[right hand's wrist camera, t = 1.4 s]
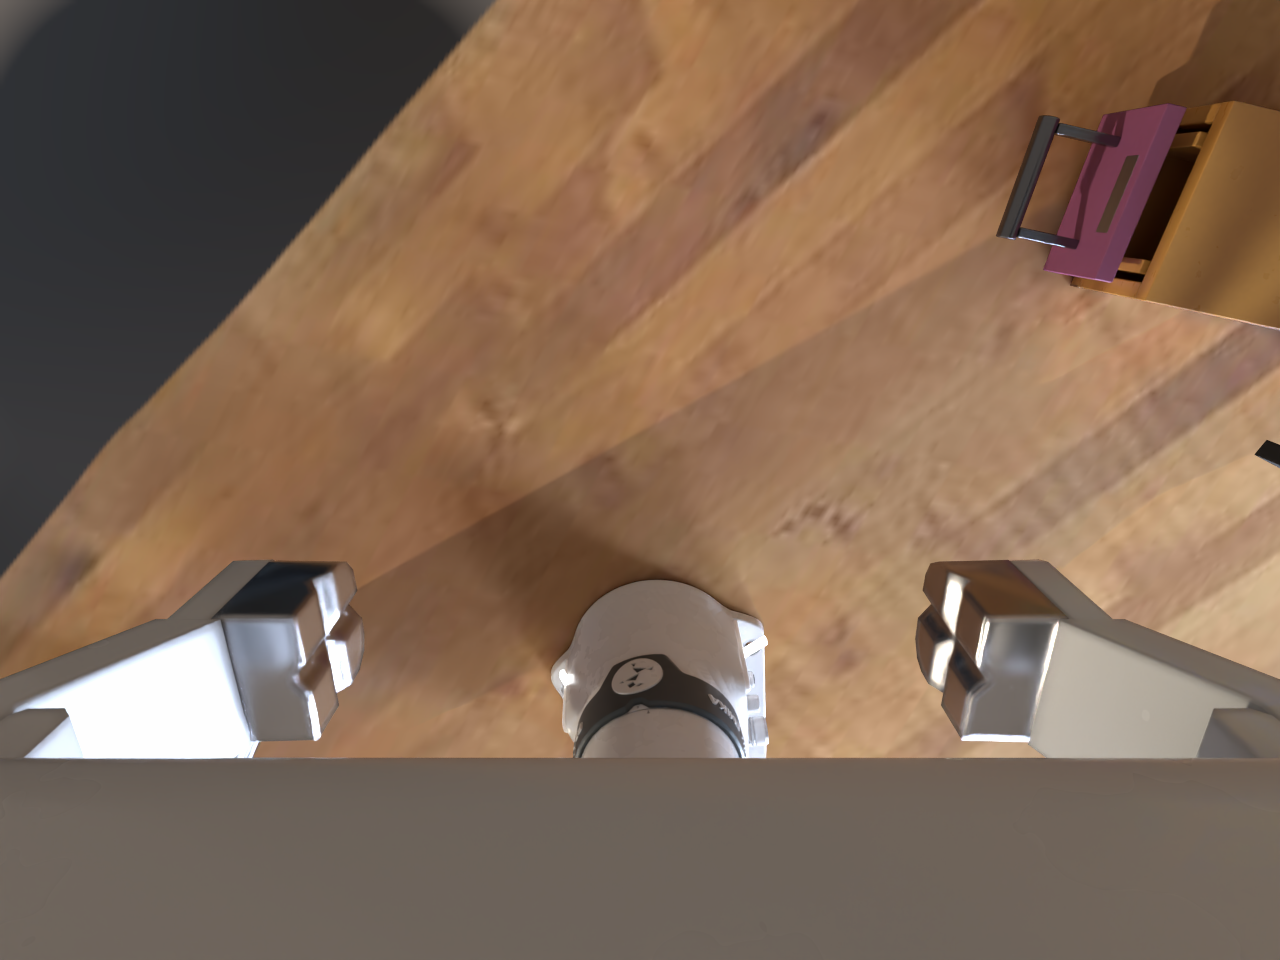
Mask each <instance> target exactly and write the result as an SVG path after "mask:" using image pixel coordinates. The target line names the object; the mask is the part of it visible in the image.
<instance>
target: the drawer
mask: <svg viewBox="0 0 1280 960" xmlns="http://www.w3.org/2000/svg"><path fill="white" fill-rule="evenodd" d="M1186 109H1187V108H1186V107H1183V106H1179V105H1174V104H1170V103H1166V104H1161V105H1155V106H1150V107H1144V108H1139V109H1133V110H1127V111H1122V112H1116V113H1111V114H1105V115H1103V117H1102V120H1101V122H1100V125H1099V127H1098V130H1097V131H1093V130H1089V129H1084V128H1080V127H1076V126H1071V125H1067V124H1063V123H1059V121H1060V119H1059V118H1058V117H1054V116H1047V115H1042V116H1039V118H1038V120H1037V123H1036V126H1035V129H1034V131H1033V134H1032V137H1031V140H1030V142H1029V145H1028V148H1027V151H1026V154H1025V156H1024V159H1023V162H1022V165H1021V167H1020V170H1019V173H1018V176H1017V179H1016V181H1015V184H1014V187H1013V190H1012V192H1011V195H1010V198H1009V201H1008V203H1007V206H1006V209H1005V212H1004V215H1003V217H1002V220H1001V223H1000V226H999V228H998V231H997V234H996V236H997V237H1000V238H1005V239H1011V240H1015V239H1016V237H1017V238H1022V239H1027V240H1031V241H1036V242H1041V243H1045V244H1050V245H1052V248H1051V250H1050V253H1049V256H1048V258H1047V261H1046V263H1045V266H1044V268H1043V270H1045V271H1050V272H1055V273H1059V274H1065V275H1070V276H1076V277H1081V278H1087V279H1092V280H1098V281H1103V282H1109V283H1112V282H1113V280H1114V277H1115V275H1116V273H1117V271H1118V272H1123V273H1128V274H1132V275H1137V276H1141V277H1145V275H1146V272H1147V270H1148V268H1149V266H1150V263H1151V261H1152V259H1153V257H1154V254H1155V252H1156V250H1157V247H1158V245H1159V243H1160V241H1161V238H1162V236H1163V234H1164V232H1165V229H1166V227H1167V225H1168V223H1169V220H1170V218H1171V216H1172V214H1173V211H1174V209H1175V207H1176V205H1177V202H1178V200H1179V198H1180V195H1181V193H1182V191H1183V189H1184V186H1185V184H1186V182H1187V180H1188V177H1189V175H1190V173H1191V171H1192V168H1193V166H1194V164H1195V162H1196V159H1197V157H1198V155H1199V152H1200V150H1201V148H1202V146H1203V143H1204V141H1205V139H1206V137H1207V134H1208V133H1207V132H1202V131H1200V132H1191V133H1183V134H1176V132H1177V130H1178V128H1179V125H1180V123H1181V121H1182V118H1183V116H1184V114H1185V111H1186ZM1054 135H1057V136H1062V137H1066V138H1071V139H1075V140H1079V141H1084V142H1088V143H1092V145H1091V148H1090V150H1089V153H1088V156H1087V158H1086V161H1085V163H1084V166H1083V168H1082V171H1081V174H1080V176H1079V179H1078V181H1077V184H1076V186H1075V189H1074V191H1073V194H1072V197H1071V199H1070V202H1069V204H1068V207H1067V209H1066V212H1065V215H1064V217H1063V220H1062V222H1061V225H1060V227H1059V230H1058V232H1057V235H1054V234H1049V233H1045V232H1040V231H1035V230H1031V229H1026V228H1021V227H1020V226H1021V224H1022V221H1023V218H1024V215H1025V213H1026V210H1027V207H1028V205H1029V202H1030V199H1031V197H1032V194H1033V191H1034V188H1035V186H1036V183H1037V180H1038V178H1039V175H1040V172H1041V170H1042V167H1043V164H1044V162H1045V159H1046V156H1047V153H1048V151H1049V148H1050V145H1051V143H1052V140H1053V137H1054Z"/></svg>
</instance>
